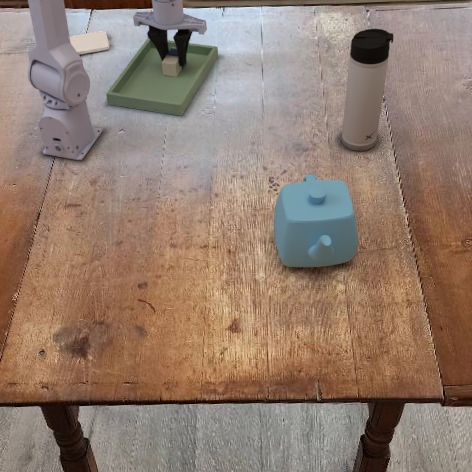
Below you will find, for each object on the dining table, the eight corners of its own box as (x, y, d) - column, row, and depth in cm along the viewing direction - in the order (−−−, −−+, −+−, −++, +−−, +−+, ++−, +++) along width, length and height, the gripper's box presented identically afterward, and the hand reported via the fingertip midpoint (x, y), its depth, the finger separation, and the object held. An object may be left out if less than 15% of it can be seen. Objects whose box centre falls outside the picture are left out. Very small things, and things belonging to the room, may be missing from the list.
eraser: (177, 77, 137) (175, 64, 135) (163, 75, 138) (161, 62, 136) (187, 61, 141) (186, 48, 138) (173, 59, 141) (171, 46, 139)
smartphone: (37, 41, 148) (105, 30, 150) (38, 45, 149) (106, 33, 150) (39, 58, 144) (109, 46, 145) (40, 62, 144) (110, 49, 146)
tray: (182, 116, 130) (180, 105, 128) (108, 104, 133) (105, 93, 132) (218, 57, 143) (217, 46, 141) (149, 48, 146) (148, 37, 144)
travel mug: (376, 153, 121) (392, 46, 105) (339, 149, 122) (349, 43, 106) (379, 132, 124) (395, 26, 109) (343, 129, 125) (353, 23, 110)
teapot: (282, 300, 100) (283, 244, 91) (269, 217, 112) (269, 160, 102) (365, 293, 101) (374, 237, 92) (344, 211, 112) (350, 154, 103)
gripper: (209, -11, 128) (214, 56, 139) (139, -19, 131) (149, 48, 142) (197, 7, 124) (203, 75, 135) (124, -2, 127) (136, 65, 138)
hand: (174, 62), depth 138 cm, fingers closed on eraser, 3 cm apart
